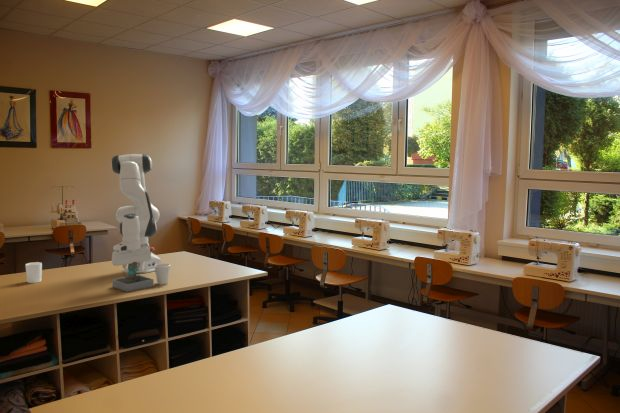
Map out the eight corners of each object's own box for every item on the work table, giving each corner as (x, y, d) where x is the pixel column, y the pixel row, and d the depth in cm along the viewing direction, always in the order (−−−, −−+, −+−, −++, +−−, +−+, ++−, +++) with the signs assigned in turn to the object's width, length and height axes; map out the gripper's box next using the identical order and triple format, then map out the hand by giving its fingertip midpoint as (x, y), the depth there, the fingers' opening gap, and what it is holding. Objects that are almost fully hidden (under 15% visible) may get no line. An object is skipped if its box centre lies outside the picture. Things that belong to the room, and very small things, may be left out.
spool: (132, 278, 263) (135, 261, 263) (137, 279, 260) (139, 262, 260) (124, 278, 260) (127, 260, 260) (129, 279, 257) (131, 262, 257)
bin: (139, 282, 272) (138, 274, 271) (153, 286, 262) (153, 279, 261) (112, 287, 261) (112, 279, 260) (126, 292, 251) (126, 284, 250)
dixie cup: (173, 283, 269) (173, 265, 268) (158, 285, 264) (158, 267, 263) (166, 280, 275) (166, 262, 274) (152, 283, 270) (151, 264, 269)
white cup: (46, 280, 275) (45, 262, 274) (33, 283, 267) (33, 265, 266) (35, 279, 277) (34, 261, 276) (22, 282, 270) (21, 264, 269)
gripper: (146, 242, 269) (147, 267, 270) (109, 246, 254) (110, 273, 255) (152, 243, 264) (153, 269, 266) (115, 248, 250) (116, 275, 251)
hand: (132, 271), depth 260 cm, fingers closed on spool, 5 cm apart
